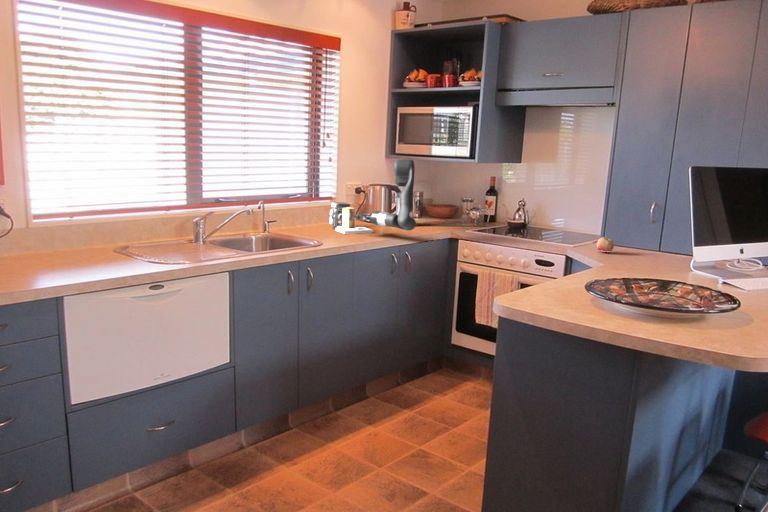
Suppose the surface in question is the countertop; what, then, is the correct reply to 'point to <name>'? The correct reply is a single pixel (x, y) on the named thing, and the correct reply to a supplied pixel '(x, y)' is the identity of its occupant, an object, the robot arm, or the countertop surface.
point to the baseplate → (353, 230)
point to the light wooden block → (348, 218)
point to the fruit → (605, 244)
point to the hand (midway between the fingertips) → (358, 215)
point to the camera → (337, 213)
